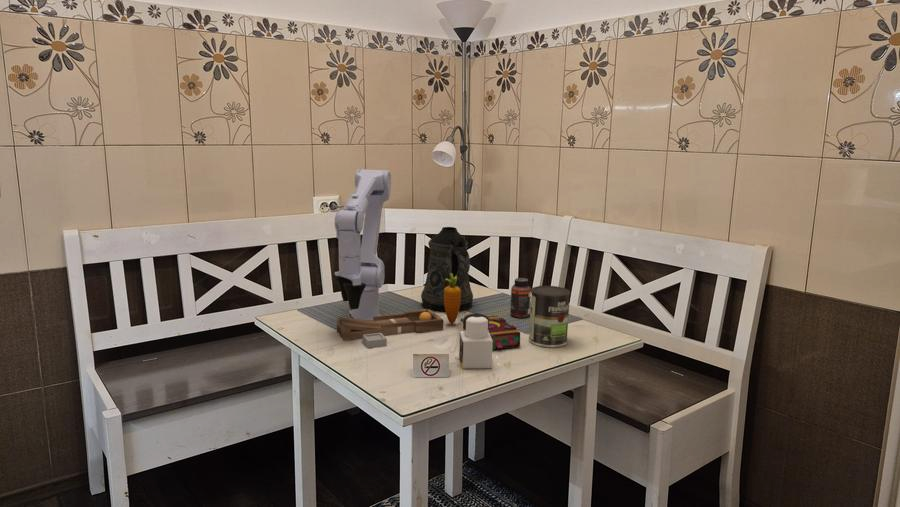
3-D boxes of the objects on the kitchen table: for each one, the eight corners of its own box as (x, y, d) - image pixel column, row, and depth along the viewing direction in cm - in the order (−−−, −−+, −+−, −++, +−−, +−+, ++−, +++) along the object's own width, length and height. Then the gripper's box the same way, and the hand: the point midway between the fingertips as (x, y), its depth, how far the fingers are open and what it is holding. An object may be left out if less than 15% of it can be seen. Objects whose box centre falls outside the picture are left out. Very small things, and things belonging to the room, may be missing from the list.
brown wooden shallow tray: (335, 329, 169) (335, 315, 168) (429, 318, 180) (429, 305, 179) (344, 342, 159) (344, 327, 158) (443, 329, 170) (443, 316, 169)
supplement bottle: (533, 316, 184) (535, 280, 181) (519, 319, 180) (520, 282, 178) (520, 311, 189) (522, 276, 186) (506, 314, 185) (507, 278, 183)
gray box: (362, 341, 160) (362, 334, 159) (381, 339, 162) (381, 332, 161) (367, 348, 155) (367, 341, 155) (386, 345, 157) (386, 338, 157)
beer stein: (441, 295, 205) (442, 221, 199) (490, 305, 194) (493, 228, 188) (410, 306, 192) (410, 228, 186) (460, 318, 181) (462, 235, 175)
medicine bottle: (459, 357, 150) (460, 311, 148) (487, 357, 151) (489, 311, 148) (461, 369, 143) (463, 320, 141) (491, 368, 144) (493, 320, 142)
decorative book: (497, 329, 172) (498, 313, 171) (522, 349, 157) (523, 331, 156) (459, 333, 168) (460, 316, 167) (482, 354, 153) (482, 335, 152)
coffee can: (575, 344, 161) (578, 293, 158) (543, 350, 156) (546, 297, 154) (551, 332, 170) (554, 283, 167) (521, 337, 165) (523, 287, 162)
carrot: (458, 328, 172) (459, 276, 169) (441, 326, 173) (442, 275, 170) (461, 322, 177) (463, 272, 173) (445, 321, 178) (446, 271, 174)
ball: (416, 322, 175) (419, 310, 175) (427, 324, 176) (430, 312, 176) (420, 323, 171) (422, 311, 172) (431, 325, 173) (434, 313, 173)
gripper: (328, 250, 165) (329, 298, 168) (341, 262, 152) (342, 314, 155) (354, 249, 168) (354, 296, 171) (368, 260, 155) (369, 311, 158)
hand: (350, 304), depth 163 cm, fingers open, 7 cm apart
